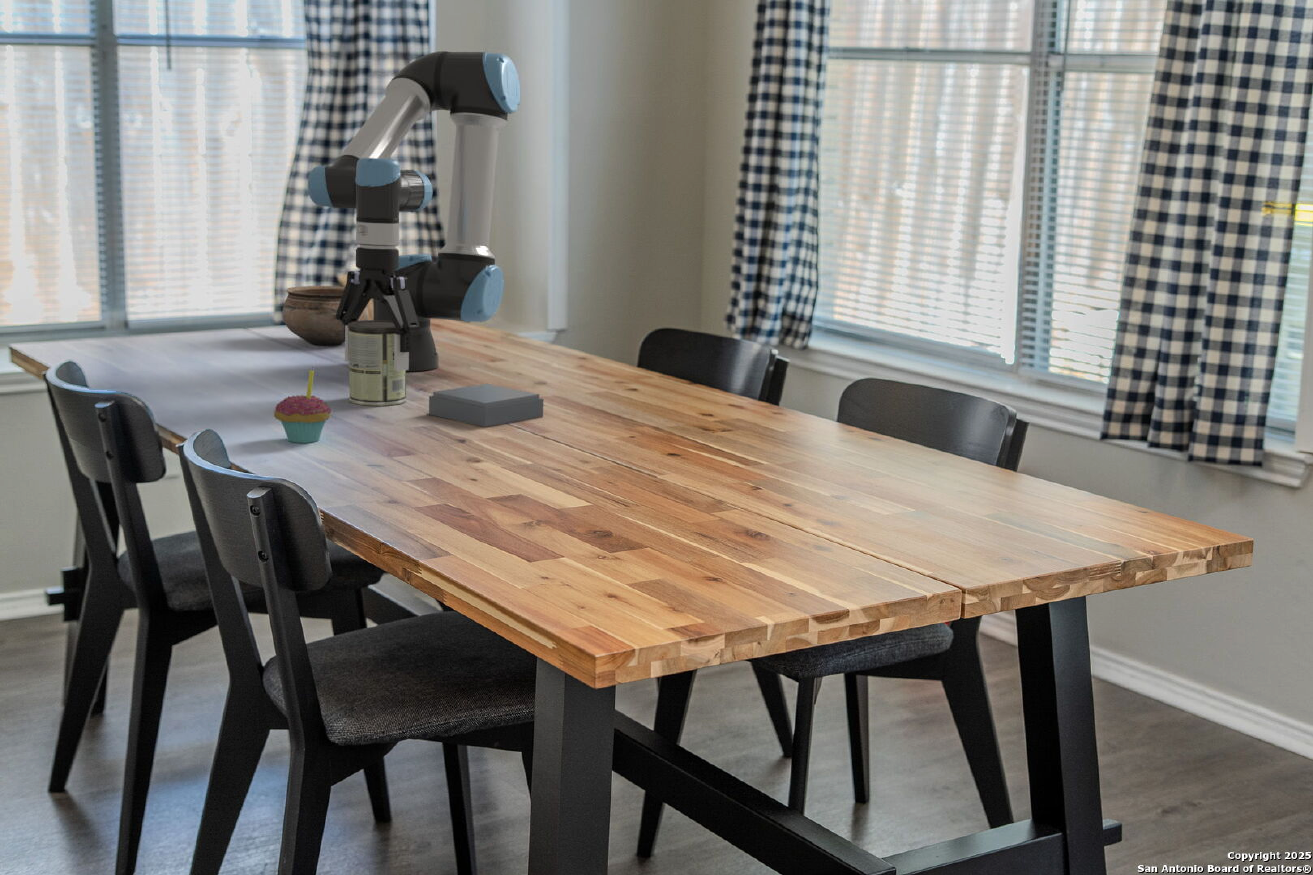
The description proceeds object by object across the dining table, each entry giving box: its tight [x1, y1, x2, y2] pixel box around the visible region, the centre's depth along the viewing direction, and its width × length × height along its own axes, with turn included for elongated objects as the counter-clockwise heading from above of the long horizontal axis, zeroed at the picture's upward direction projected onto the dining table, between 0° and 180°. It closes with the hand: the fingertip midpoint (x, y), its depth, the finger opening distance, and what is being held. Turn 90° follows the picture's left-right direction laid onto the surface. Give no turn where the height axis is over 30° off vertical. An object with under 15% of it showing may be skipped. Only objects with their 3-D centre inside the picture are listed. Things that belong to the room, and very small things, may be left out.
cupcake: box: [273, 365, 332, 444], centre depth 213 cm, size 9×8×12 cm
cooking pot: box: [281, 285, 370, 347], centre depth 308 cm, size 25×19×12 cm
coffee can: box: [348, 319, 407, 407], centre depth 246 cm, size 10×10×14 cm
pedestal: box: [428, 383, 544, 428], centre depth 238 cm, size 14×14×4 cm
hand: (376, 365), depth 246 cm, fingers open, 13 cm apart
